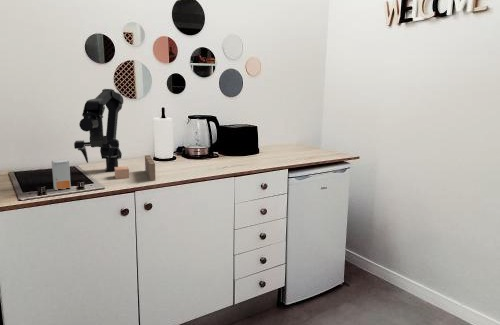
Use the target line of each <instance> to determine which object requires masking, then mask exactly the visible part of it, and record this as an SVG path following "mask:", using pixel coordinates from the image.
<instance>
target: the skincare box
mask: <svg viewBox="0 0 500 325" xmlns="http://www.w3.org/2000/svg"><path fill="white" fill-rule="evenodd" d="M51 169H52V170H51V171H52V183H53V190H54V191H55V190H57V191H59V190H58V189H65V188H71V189H72V184H71V170H70V161H69V159H59V160H51ZM65 190H66V189H65Z"/></svg>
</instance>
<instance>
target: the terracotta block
mask: <svg viewBox="0 0 500 325" xmlns="http://www.w3.org/2000/svg"><path fill="white" fill-rule="evenodd" d="M114 168H115V171H114V177H115V178H114V179H115V180H118V179H119V180H121V179H122V180H123V179H129V178H130V169H129V166H127V165H126V166H118V167H114Z"/></svg>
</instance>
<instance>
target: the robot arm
mask: <svg viewBox="0 0 500 325" xmlns="http://www.w3.org/2000/svg"><path fill="white" fill-rule="evenodd" d="M123 104H124V97H123V96H122V95H121V93H119V92H117V91H115V89H112V88H104V89H102V90H101V92H100V93H99V94H98V95H97V96H96V97H95V98H91V99H88V100H86V101H85V104H84V106H83V111H82V114H81V116H82V117H83V118H82V119H80V121H79V125H78V126H79V127H80V129H81V130H82V131H83V132H89V141H85V140H84V139H83V140H75V141H74V143H73V145H74V146H73V147H74V149H77V151H80V152H81V154H82V155H83V157H84V159H85V161H86V164H88V163H89V158H88V152H87V148H86V147H91V148H99V151H100V157H101V159H105V172H115V168H114V167H119V160H120V159H122V157H123V156H122V153H123V152H122V151H121V149H120V141H119V140H118V139H117V128H118V120H119V119H118V117H119V116H118V115H119V112H120V111H121V110H122V108H123ZM105 109H107V110H108V111H107V121H106V122H107V123H106V132H105V133H106V134H105V135H104V126H103V124H104V123H103V118H104V116H103V114H104V112H105Z"/></svg>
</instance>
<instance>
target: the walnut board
mask: <svg viewBox="0 0 500 325" xmlns="http://www.w3.org/2000/svg"><path fill="white" fill-rule="evenodd" d="M144 165H145V166H144V169H145V173H146V175H147V177H148V179H149V181H156V163H155V161H154V160H153V157H152V156H151V155H150V154H147V155H146V154H145V155H144Z"/></svg>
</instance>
